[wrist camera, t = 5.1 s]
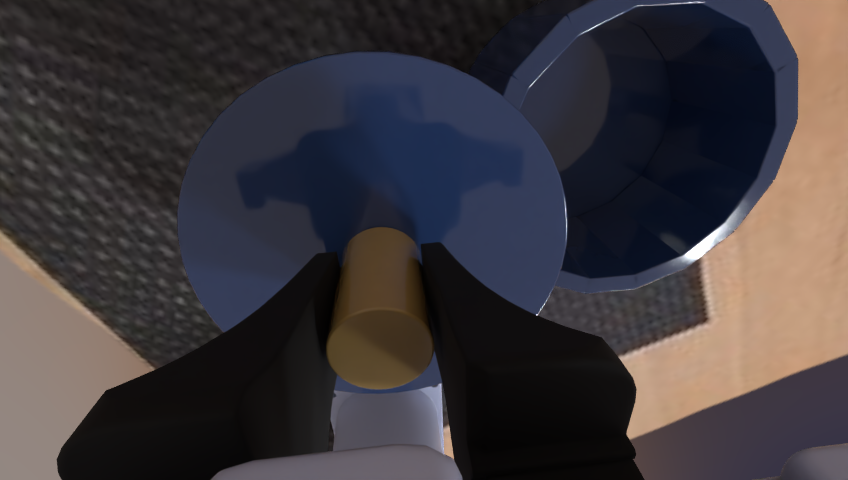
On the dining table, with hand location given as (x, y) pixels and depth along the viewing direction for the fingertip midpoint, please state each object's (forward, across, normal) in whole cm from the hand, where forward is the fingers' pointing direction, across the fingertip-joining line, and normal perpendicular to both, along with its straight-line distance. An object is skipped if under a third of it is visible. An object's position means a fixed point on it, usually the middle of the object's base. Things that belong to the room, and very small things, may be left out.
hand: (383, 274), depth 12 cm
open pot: (+9, -10, -2) cm, 13 cm away
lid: (+1, 0, 0) cm, 1 cm away
